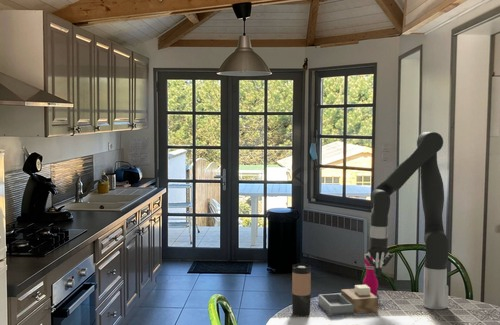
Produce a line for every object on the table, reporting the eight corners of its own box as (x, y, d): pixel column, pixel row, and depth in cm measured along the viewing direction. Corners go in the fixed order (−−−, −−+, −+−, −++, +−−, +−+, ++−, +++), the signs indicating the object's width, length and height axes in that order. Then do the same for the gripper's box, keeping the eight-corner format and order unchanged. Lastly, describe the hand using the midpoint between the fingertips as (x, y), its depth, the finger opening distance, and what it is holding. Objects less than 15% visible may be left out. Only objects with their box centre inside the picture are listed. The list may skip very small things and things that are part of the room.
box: (340, 302, 247) (340, 293, 247) (353, 314, 231) (353, 304, 231) (318, 303, 245) (318, 294, 245) (330, 315, 229) (330, 306, 229)
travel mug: (312, 311, 234) (312, 264, 233) (308, 317, 227) (308, 268, 226) (294, 309, 237) (294, 262, 236) (289, 315, 230) (290, 267, 228)
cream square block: (365, 291, 243) (365, 284, 243) (370, 294, 238) (370, 287, 238) (354, 291, 242) (354, 285, 242) (359, 295, 237) (359, 288, 237)
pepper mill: (378, 296, 255) (379, 253, 254) (362, 295, 256) (363, 252, 255) (378, 292, 262) (378, 249, 261) (362, 291, 263) (363, 249, 262)
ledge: (364, 301, 248) (364, 288, 248) (377, 311, 234) (377, 297, 234) (340, 302, 246) (341, 289, 245) (352, 313, 232) (352, 299, 232)
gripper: (389, 233, 245) (388, 273, 246) (361, 234, 242) (359, 274, 243) (397, 237, 237) (395, 277, 238) (367, 238, 235) (366, 278, 236)
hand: (377, 275), depth 241 cm, fingers closed
